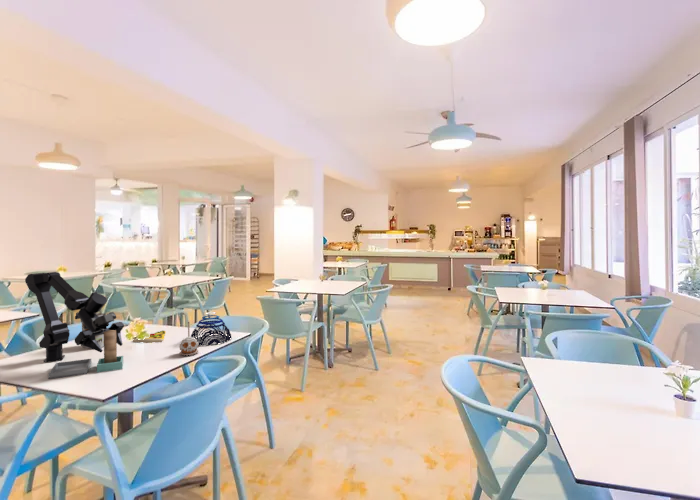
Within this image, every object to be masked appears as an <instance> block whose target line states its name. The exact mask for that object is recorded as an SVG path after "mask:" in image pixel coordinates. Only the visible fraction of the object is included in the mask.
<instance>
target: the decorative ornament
mask: <svg viewBox="0 0 700 500" xmlns="http://www.w3.org/2000/svg"><path fill="white" fill-rule="evenodd" d="M190 333H191V332H190V321H187V336H186V337H184V338H183V339H182V340H181V341H180V343H179V355H180V356H185V355H186V356H187V357H188V355H189V356H193V355H196V354H198V353H199V350H198V348H199V346H198V345H199V343H198V342H197V340H198V339H197V338H196V339H194V337H193V338H192V337H191V335H190Z"/></svg>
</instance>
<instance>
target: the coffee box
mask: <svg viewBox="0 0 700 500" xmlns="http://www.w3.org/2000/svg"><path fill="white" fill-rule="evenodd" d="M96 314H97V315H98V316H103V315H107V313H102V312H97V313H96ZM84 326H85V325H84V323H83V322H82V321H81V331H85V330H88V329H84V328H83V327H84ZM95 339H96V341H97V342H98V344H99V345H100V347H101V348H104V334H102V335H98V336H95ZM82 348H84V349H85V348H87V349H91V350H93V349H92V348H89V347H86V346H82Z"/></svg>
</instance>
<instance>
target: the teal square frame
mask: <svg viewBox="0 0 700 500" xmlns="http://www.w3.org/2000/svg"><path fill="white" fill-rule="evenodd" d="M123 367H124V355H120V356H119V355H117V362H113V363H105V364H104V357H102V358H99V359H98V361H97V364H96V373H103V372H109V371H117V370H118V371H119V370H122V369H123Z"/></svg>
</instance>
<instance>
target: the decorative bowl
mask: <svg viewBox="0 0 700 500" xmlns="http://www.w3.org/2000/svg"><path fill="white" fill-rule="evenodd" d="M216 313H217V312H215V311H209V312H205V316H202V318H201V319H200V320H199V321H198V323H197V324H196V327H197V328H198V329H197V328H196V327H195V328H194V329H193V330H192V333H191V335H190V337H192V338H193V337H194V338H195V339H196V340H197V342H198V345H205V344H207V345H210V344H212V345H214V343H215V344H218V343H221V342H224V341H226V342H227V340H229V339H230V338H231V339H232V334H231V332H230V329H229V328H228V326H227V325H226V324H225V322H224V320H223V319H221V318H220V315H215V314H216ZM220 327H222V329H221V328H220ZM211 334H213V335H212V336H209V335H211ZM214 334H215V335H214ZM216 334H218V335H216ZM222 334H223V335H222ZM226 334H227V336H226ZM201 335H202V337H201ZM198 336H200V337H199V338H198ZM229 336H230V337H229ZM196 337H197V338H196Z"/></svg>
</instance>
